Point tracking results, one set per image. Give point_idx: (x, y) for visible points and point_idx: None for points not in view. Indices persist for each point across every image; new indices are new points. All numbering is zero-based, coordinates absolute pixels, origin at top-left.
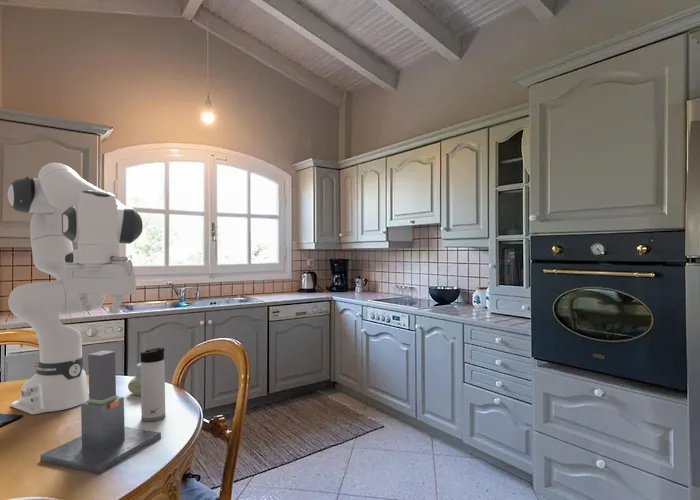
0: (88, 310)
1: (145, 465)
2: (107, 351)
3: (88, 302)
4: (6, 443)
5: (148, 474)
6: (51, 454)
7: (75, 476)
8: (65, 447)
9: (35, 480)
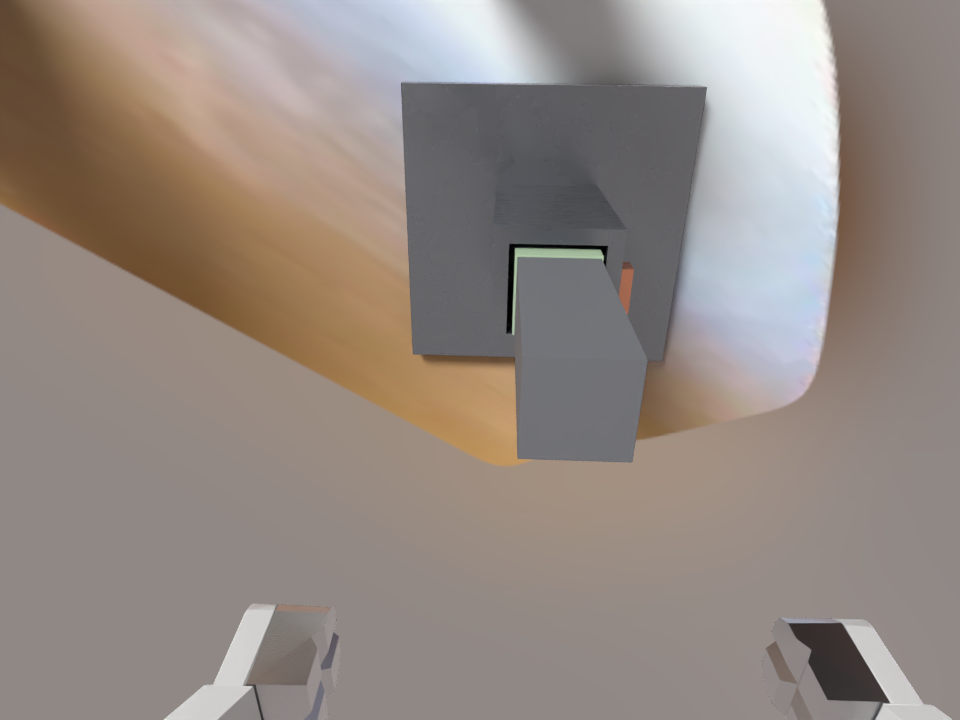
0: (331, 629)
1: (770, 274)
2: (588, 373)
3: (242, 701)
4: (171, 292)
5: (813, 313)
6: (445, 343)
7: None
8: (440, 297)
9: (510, 416)
